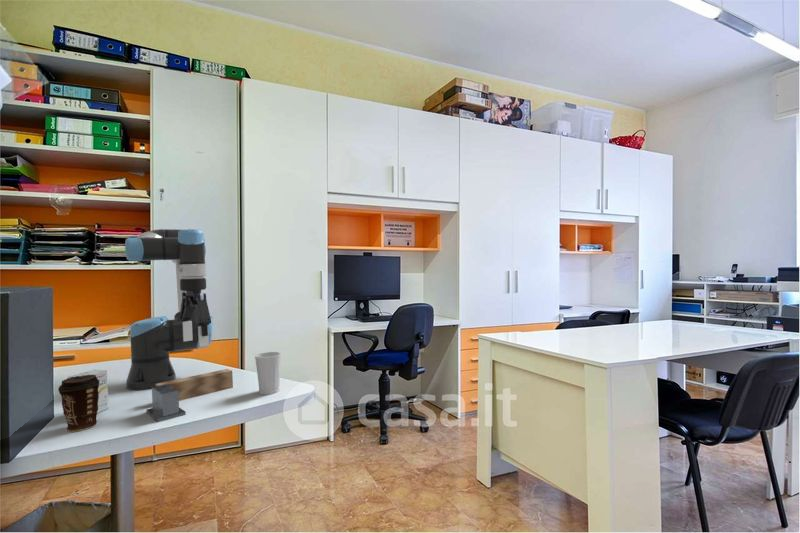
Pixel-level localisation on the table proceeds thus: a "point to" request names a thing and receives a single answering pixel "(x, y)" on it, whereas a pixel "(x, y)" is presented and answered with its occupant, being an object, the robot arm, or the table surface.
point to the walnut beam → (202, 384)
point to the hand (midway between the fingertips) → (195, 343)
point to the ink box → (102, 388)
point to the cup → (268, 372)
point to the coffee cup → (80, 401)
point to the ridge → (165, 403)
